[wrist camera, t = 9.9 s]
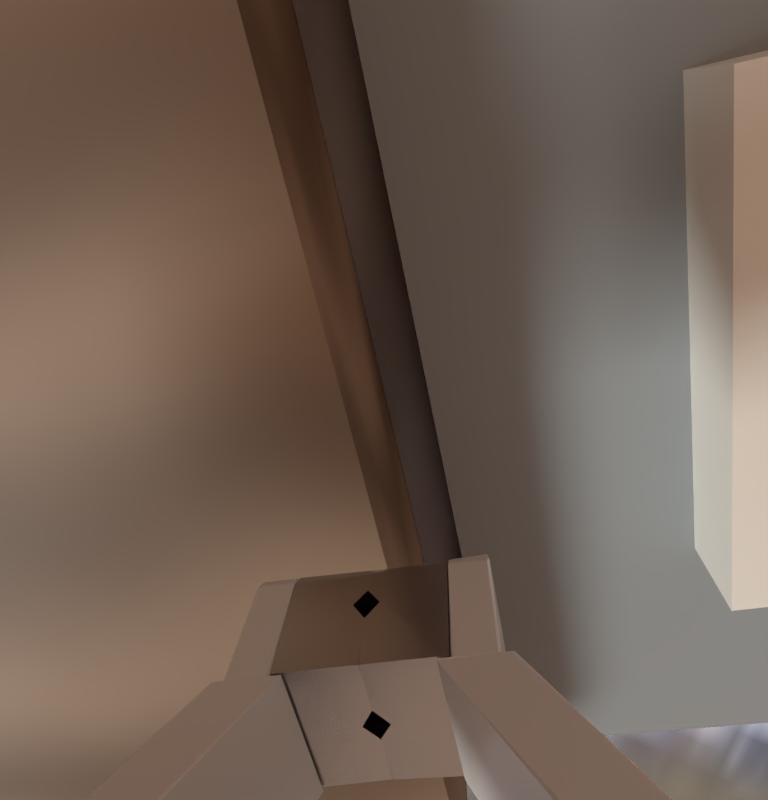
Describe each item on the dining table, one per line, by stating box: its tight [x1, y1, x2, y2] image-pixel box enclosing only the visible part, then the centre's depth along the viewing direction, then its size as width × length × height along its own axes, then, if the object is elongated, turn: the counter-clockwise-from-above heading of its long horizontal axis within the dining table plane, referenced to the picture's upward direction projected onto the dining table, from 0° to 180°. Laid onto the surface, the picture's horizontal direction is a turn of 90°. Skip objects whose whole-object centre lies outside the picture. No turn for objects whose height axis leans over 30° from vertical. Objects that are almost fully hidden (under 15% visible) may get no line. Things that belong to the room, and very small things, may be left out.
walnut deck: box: [0, 0, 467, 800], centre depth 13 cm, size 22×12×4 cm, turn 12°
